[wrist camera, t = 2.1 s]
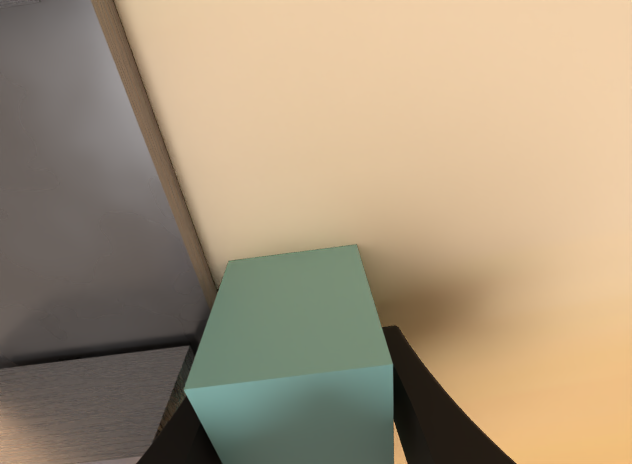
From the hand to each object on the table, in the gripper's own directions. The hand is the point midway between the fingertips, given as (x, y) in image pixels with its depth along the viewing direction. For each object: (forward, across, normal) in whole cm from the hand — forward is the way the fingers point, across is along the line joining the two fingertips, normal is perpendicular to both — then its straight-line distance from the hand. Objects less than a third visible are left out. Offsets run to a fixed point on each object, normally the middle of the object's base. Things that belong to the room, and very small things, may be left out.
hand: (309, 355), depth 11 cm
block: (+2, 0, 0) cm, 2 cm away
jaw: (0, +8, 0) cm, 8 cm away
